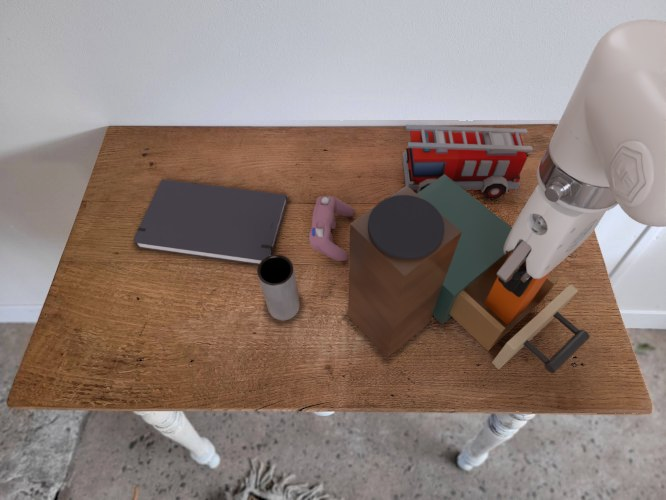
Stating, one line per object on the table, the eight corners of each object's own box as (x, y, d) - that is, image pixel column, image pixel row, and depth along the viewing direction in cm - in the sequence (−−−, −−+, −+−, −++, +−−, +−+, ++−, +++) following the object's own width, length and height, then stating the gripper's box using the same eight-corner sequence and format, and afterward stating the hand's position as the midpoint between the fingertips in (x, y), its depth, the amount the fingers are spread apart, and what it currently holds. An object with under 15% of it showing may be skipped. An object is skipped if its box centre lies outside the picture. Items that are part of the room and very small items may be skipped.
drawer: (587, 338, 64) (611, 316, 59) (528, 397, 60) (547, 380, 55) (483, 250, 72) (495, 223, 66) (424, 297, 68) (431, 273, 62)
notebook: (287, 200, 79) (164, 185, 81) (286, 194, 78) (161, 179, 80) (268, 266, 72) (135, 247, 75) (267, 260, 71) (131, 241, 73)
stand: (429, 323, 67) (462, 231, 48) (386, 358, 64) (404, 276, 46) (389, 284, 70) (406, 185, 52) (347, 316, 68) (349, 223, 49)
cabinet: (506, 270, 71) (525, 237, 64) (442, 324, 67) (454, 295, 60) (435, 210, 78) (444, 173, 70) (371, 256, 73) (374, 222, 66)
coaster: (459, 231, 48) (460, 228, 48) (404, 273, 46) (405, 270, 45) (406, 187, 52) (407, 183, 51) (352, 224, 49) (352, 220, 49)
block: (527, 307, 64) (564, 252, 53) (507, 325, 62) (541, 272, 51) (503, 287, 65) (534, 230, 55) (483, 304, 64) (511, 249, 53)
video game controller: (332, 215, 79) (311, 189, 74) (357, 210, 77) (337, 183, 72) (323, 267, 74) (299, 242, 69) (349, 263, 72) (327, 237, 67)
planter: (304, 314, 68) (298, 278, 59) (273, 325, 67) (262, 290, 59) (294, 288, 70) (287, 249, 62) (264, 297, 69) (252, 260, 61)
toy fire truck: (398, 159, 84) (404, 114, 75) (507, 158, 83) (525, 113, 75) (402, 200, 79) (409, 157, 70) (518, 199, 78) (539, 155, 70)
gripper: (563, 247, 38) (501, 341, 53) (677, 148, 44) (591, 258, 59) (489, 191, 41) (450, 294, 56) (604, 106, 47) (540, 221, 62)
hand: (523, 275), depth 57 cm, fingers closed on block, 4 cm apart
